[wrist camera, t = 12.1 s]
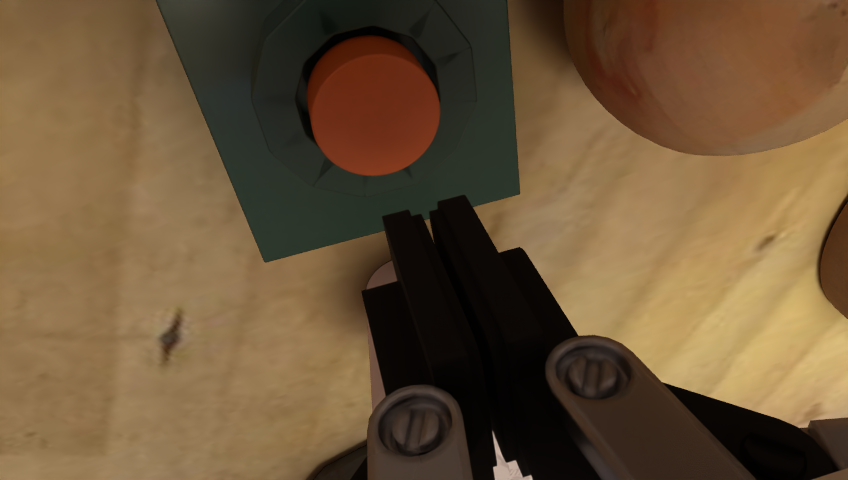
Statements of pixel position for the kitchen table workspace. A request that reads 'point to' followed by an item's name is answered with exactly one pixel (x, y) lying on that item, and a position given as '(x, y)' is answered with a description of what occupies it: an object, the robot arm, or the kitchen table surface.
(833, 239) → the vase
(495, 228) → the kitchen table surface
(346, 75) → the button
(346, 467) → the bottle
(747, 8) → the onion
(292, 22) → the button block
